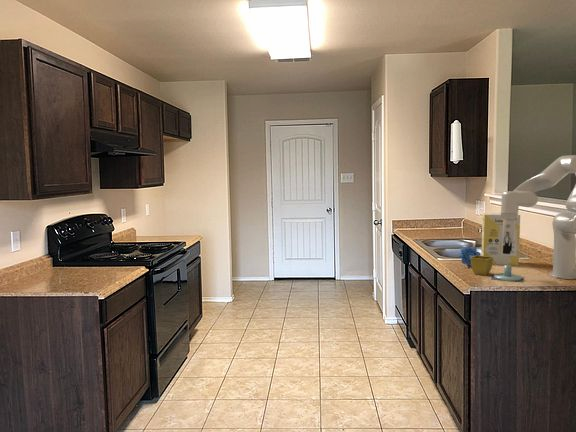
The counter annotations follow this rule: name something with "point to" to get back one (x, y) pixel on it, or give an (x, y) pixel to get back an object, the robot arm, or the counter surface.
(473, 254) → the grapes
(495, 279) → the mat
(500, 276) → the lid
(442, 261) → the counter surface
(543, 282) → the counter surface
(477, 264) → the flower pot
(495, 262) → the pasta box
